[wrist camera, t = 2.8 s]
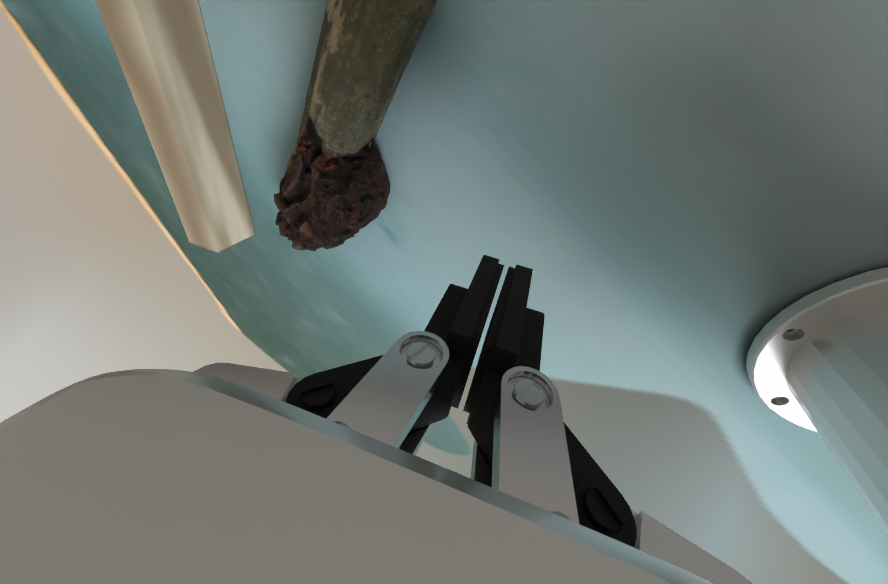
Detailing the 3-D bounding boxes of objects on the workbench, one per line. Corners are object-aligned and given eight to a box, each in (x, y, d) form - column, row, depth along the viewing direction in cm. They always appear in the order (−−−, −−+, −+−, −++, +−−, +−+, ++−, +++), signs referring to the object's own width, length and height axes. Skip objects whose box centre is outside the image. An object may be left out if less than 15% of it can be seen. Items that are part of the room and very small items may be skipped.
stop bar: (178, -80, 18) (94, -113, 15) (254, 234, 30) (217, 252, 27) (138, -86, 18) (49, -119, 15) (229, 225, 30) (189, 242, 27)
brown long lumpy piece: (375, -63, 16) (298, -118, 11) (482, 25, 16) (449, 6, 12) (300, 208, 27) (246, 235, 22) (365, 256, 27) (325, 291, 23)
